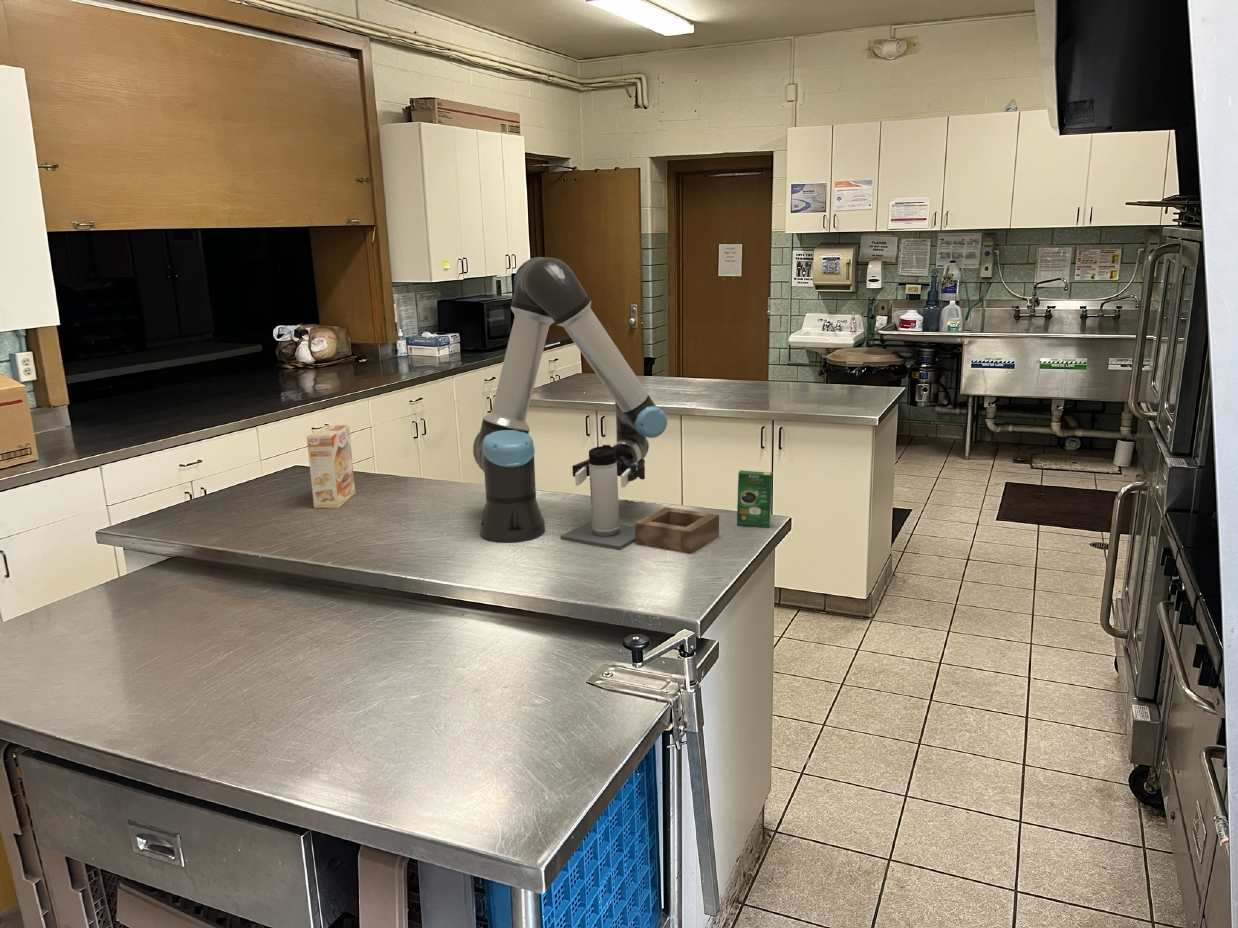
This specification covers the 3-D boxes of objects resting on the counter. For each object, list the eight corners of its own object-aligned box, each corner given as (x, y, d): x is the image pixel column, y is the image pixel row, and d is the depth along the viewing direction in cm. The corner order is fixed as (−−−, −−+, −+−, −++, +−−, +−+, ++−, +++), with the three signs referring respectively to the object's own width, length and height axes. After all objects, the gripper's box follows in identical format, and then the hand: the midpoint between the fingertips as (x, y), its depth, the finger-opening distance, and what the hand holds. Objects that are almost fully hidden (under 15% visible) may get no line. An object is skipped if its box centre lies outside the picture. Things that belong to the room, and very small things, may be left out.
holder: (635, 544, 197) (634, 522, 196) (665, 527, 209) (665, 507, 208) (691, 553, 190) (691, 531, 189) (719, 535, 202) (719, 514, 201)
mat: (560, 539, 202) (560, 535, 202) (593, 523, 214) (593, 519, 213) (619, 549, 194) (619, 546, 194) (651, 532, 205) (651, 529, 205)
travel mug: (623, 528, 206) (620, 445, 201) (614, 537, 200) (610, 451, 195) (598, 526, 208) (594, 444, 203) (588, 535, 202) (584, 450, 197)
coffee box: (772, 524, 209) (773, 471, 206) (770, 528, 206) (771, 474, 203) (738, 522, 211) (738, 469, 208) (736, 526, 209) (736, 472, 206)
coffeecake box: (339, 508, 232) (332, 435, 227) (312, 508, 232) (304, 436, 227) (356, 493, 246) (350, 424, 242) (331, 493, 247) (324, 425, 242)
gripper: (667, 474, 216) (649, 498, 195) (579, 471, 221) (552, 494, 200) (667, 444, 214) (648, 466, 193) (578, 442, 219) (550, 462, 198)
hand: (599, 480), depth 196 cm, fingers open, 10 cm apart
